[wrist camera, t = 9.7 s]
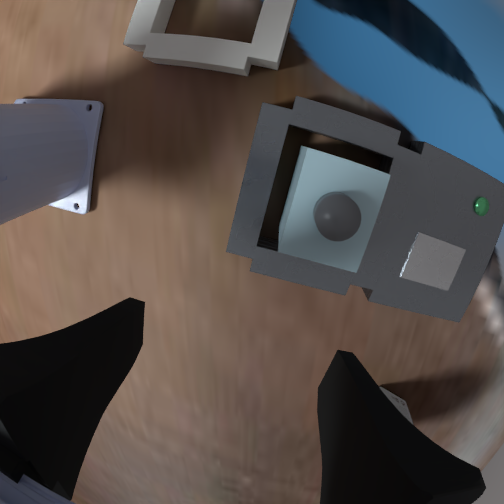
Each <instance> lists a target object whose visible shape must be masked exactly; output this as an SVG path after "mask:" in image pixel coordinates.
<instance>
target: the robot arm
mask: <svg viewBox="0 0 504 504" xmlns="http://www.w3.org/2000/svg"><path fill="white" fill-rule="evenodd" d="M90 105H92V109H91V111H90V110H89V107H90ZM102 113H103V104H102V102H100V101H89V100H70V99H17V100H16V101H15V103H14V104H0V225H1V224H3V223H6V222H8V221H10V220H12V219H15V218H17V217H19V216H22V215H24V214H26V213H29V212H31V211H34V210H36V209H38V208H41V207H43V206H46V205H50V206H54V207H57V208H61V209H64V210H68V211H72V212H75V213H79V214H86V213H88V211H89V209H90V200H91V189H92V179H93V170H94V163H95V155H96V148H97V142H98V136H99V130H100V124H101V119H102ZM77 203H78V204H79V208H78V207H77ZM144 308H145V302H143V301H140V300H137V299H134V298H128V299H125V300H123V301H121V302H119V303H117V304H115V305H114V306H112V307H110V308H108V309H106V310H104V311H102V312H100V313H98V314H96V315H94V316H92V317H89V318H87V319H85V320H83V321H80V322H78V323H76V324H73V325H71V326H69V327H66V328H64V329H61V330H58V331H55V332H52V333H49V334H46V335H43V336H39V337H35V338H30V339H26V340H21V341H17V342H10V343H3V344H0V504H75V503H73V502H71V501H70V500H72V496H73V492H74V489H75V485H76V482H77V478H78V475H79V472H80V469H81V466H82V463H83V461H84V458H85V455H86V452H87V450H88V447H89V445H90V442H91V440H92V437H93V435H94V433H95V430H96V428H97V426H98V424H99V421H100V419H101V417H102V415H103V413H104V411H105V410H106V408H107V406H108V404H109V403H110V401H111V400H112V398H113V396H114V395H115V393H116V392H117V390H118V389H119V387H120V385H121V384H122V382H123V381H124V379H125V377H126V376H127V374H128V373H129V371H130V370H131V368H132V366H133V364H134V362H135V360H136V358H137V356H138V354H139V352H140V349H141V347H142V345H143V326H144ZM317 412H318V423H319V433H320V443H321V453H322V486H321V498H320V504H472V503H473V502H474V501H476V500H477V498H479V497H480V496H481V495H482V494H483V492H484V490H485V489H486V486H485V483H484V480H483V478H482V475H481V472H480V469H479V468H477V467H475V466H473V465H471V464H469V463H467V462H465V461H463V460H461V459H459V458H457V457H455V456H454V455H452V454H451V453H449V452H447V451H446V450H444V449H443V448H441V447H440V446H438V445H437V444H436V443H434V442H433V441H432V440H430V439H429V438H428V437H427V436H425V435H424V434H423V433H422V432H421V431H419V430H418V429H417V428H416V427H415V426H414V425H413V424H412V423H411V422H410V421H409V420H408V419H407V418H406V417H404V415H403V414H402V413H401V412H400V411H399V410H398V409H397V408H396V407H395V406H394V405H393V403H392V402H391V401H390V400H389V399H388V398H387V396H386V395H385V394H384V393H383V391H382V390H381V389H380V388H379V386H378V385H377V384H376V383H375V381H374V380H373V379H372V377H371V376H370V375H369V373H368V372H367V371H366V369H365V368H364V367H363V365H362V364H361V363H360V361H359V360H358V359H357V357H356V356H355V355H354V354H353V353H352V352H346V351H341V350H337V352H336V354H335V356H334V358H333V360H332V362H331V364H330V366H329V368H328V370H327V372H326V374H325V376H324V378H323V380H322V381H321V383H320V385H319V387H318V406H317Z"/></svg>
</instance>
